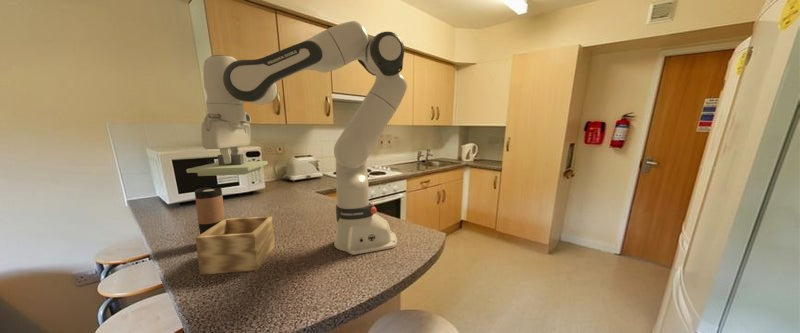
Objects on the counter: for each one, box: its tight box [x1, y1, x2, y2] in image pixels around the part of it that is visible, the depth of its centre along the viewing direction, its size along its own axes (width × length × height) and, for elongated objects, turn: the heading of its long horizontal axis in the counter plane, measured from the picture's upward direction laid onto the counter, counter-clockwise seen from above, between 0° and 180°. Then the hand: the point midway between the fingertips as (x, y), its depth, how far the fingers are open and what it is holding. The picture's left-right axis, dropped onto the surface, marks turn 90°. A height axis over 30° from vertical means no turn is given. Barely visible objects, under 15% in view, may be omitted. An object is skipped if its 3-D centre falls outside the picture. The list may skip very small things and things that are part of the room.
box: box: [194, 215, 276, 276], centre depth 77 cm, size 15×15×11 cm
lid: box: [185, 153, 269, 177], centre depth 74 cm, size 15×15×5 cm
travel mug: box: [194, 186, 226, 235], centre depth 88 cm, size 8×8×20 cm
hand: (231, 162), depth 74 cm, fingers closed on lid
